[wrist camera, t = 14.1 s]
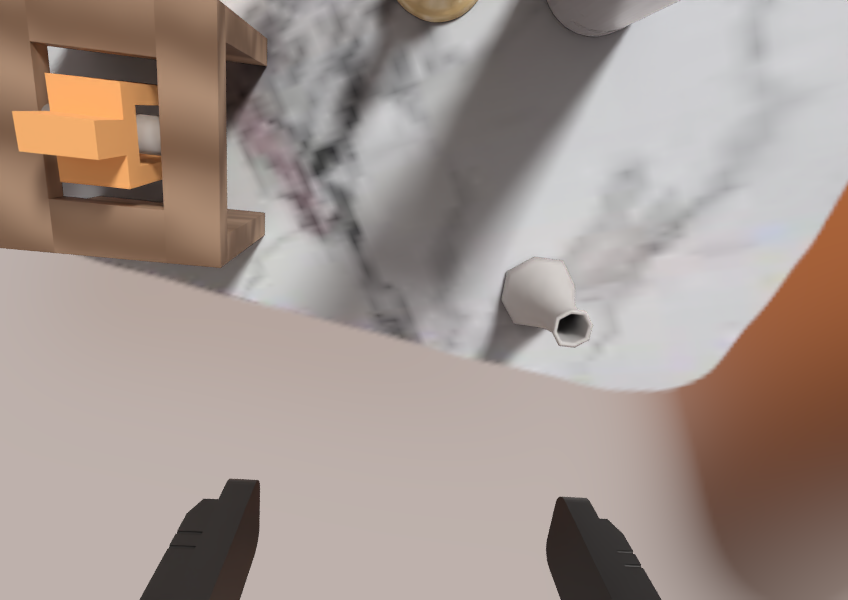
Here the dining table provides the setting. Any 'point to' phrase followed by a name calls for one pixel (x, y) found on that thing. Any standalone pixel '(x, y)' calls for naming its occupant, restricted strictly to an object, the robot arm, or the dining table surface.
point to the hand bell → (437, 9)
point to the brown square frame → (157, 135)
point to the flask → (546, 300)
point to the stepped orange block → (91, 131)
